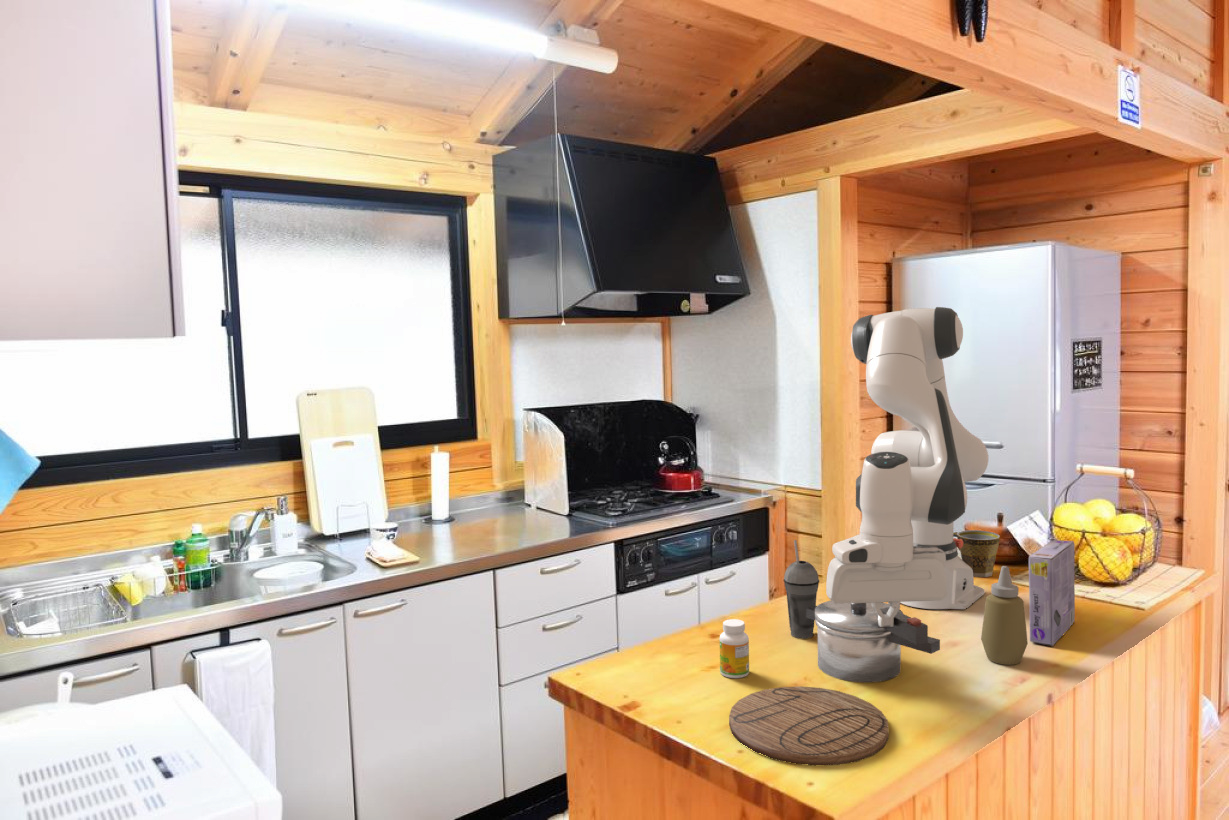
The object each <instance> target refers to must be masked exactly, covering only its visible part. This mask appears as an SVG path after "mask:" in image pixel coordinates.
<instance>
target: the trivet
mask: <svg viewBox="0 0 1229 820" xmlns="http://www.w3.org/2000/svg"><path fill="white" fill-rule="evenodd" d="M728 722H729V723H728V725H729V729H730V733H731V735H732V734H733V735H732V736H733V737H734V738H735V740H736V741H739V742H740V743H742V744H743V745H745V746H747V747H748V748H750V749H752V750H753V751H755V752H757V753H756V754H758V753H761V754H763V755H766V756H768V757H770V758H769V759H771V758H773V759H772V760H775V759H777V760H776V761H779V760H780V761H779V762H783V761H786V762H785V763H788V762H791V763H790V764H792V763H796V764H795V765H802V764H808V765H807V766H812V765H814V766H815V767H817V766H816V765H824V766H840V764H841V765H844V764H845V765H847V764H852V763H857V762H860V761H862V759H863V760H864V759H865V760H866V759H868V758H870V757H872V756H875V755H876V754H877V753H879V752H880V751H881V750H882V749H883V750H884V748H885V746H886V744H887V742H888V741H889V722H888V719H887V716H885V714H884V713H883V712H882V710H880V709H879V708H877V707H876V706H875V705H874V704H873V703H871V702H869V701H866V700H864V699H862V698H861V697H858V696H855V695H852V694H849V693H847V692H843V691H838V690H833V689H828V688H824V687H813V686H812V687H811V686H802V685H801V686H782V687H781V686H780V687H774V688H773V687H772V688H767V689H763V690H759V691H756V692H752V693H749V694H748V695H745V696H744V697H742V698H740V699H739V700H738V701H736V702H735V703H734V705H732V706H731V709H730V711H729V716H728ZM739 742H738V743H739ZM742 744H741V745H742ZM743 745H742V746H743ZM745 746H744V747H745ZM747 747H746V748H747ZM748 748H747V749H748ZM750 749H749V750H750ZM753 751H752V752H753ZM755 752H754V753H755ZM763 755H762V756H763ZM766 756H765V757H766ZM768 757H767V758H768ZM851 762H852V763H851ZM814 766H813V767H814Z"/></svg>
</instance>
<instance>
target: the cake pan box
mask: <svg viewBox="0 0 1229 820" xmlns="http://www.w3.org/2000/svg"><path fill="white" fill-rule="evenodd" d="M1028 589H1029V590H1028V591H1029V592H1028V596H1029V599H1028V602H1029V604H1028V605H1029V642H1032V643H1037V644H1041V645H1045V646H1049V647H1054V646H1055V644H1056V643H1057V641H1059V639H1061V638H1062V637H1061V636H1063V634H1064V633H1065V632H1066V631H1067V632H1068V630H1070V628H1071V627H1072V626H1073V625H1074V624H1073V622H1074V623H1075V617H1076V616H1075V610H1076V609H1075V606H1076V605H1075V602H1076V601H1075V599H1076V598H1075V596H1076V595H1075V592H1076V590H1075V542H1074V540H1058V539H1057V540H1055V539H1052V540H1051V541H1049V542H1048V543H1047V544H1045V545H1043V546H1042V547H1041V548H1038V550H1036V551H1035V552H1034V553H1031V554H1030V555H1029V556H1028ZM1071 625H1072V626H1071ZM1070 626H1071V627H1070ZM1067 632H1066V633H1067ZM1066 633H1065V634H1066ZM1065 634H1064V635H1065ZM1063 637H1064V636H1063Z"/></svg>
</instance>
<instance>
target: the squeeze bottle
mask: <svg viewBox="0 0 1229 820" xmlns="http://www.w3.org/2000/svg"><path fill="white" fill-rule="evenodd" d="M990 587H991V590H990V591H991V592H990V593H991V594H990V593H989V594H988V595H987V596H986V597H985V602H984V603H985V604H984V612H983V621H982V627H981V628H982V629H981V635H980V640H981V643H982V646H983V649H984V653H985V655H986V658H987V659H988V660H989V661H991V662H992V663H995V664H999V665H1006V666H1007V665H1009V666H1010V665H1018V664H1020V663H1021V662H1022V659H1023V656H1024V654H1025V651H1026V650H1027V646H1028V633H1027V624H1026V623H1027V622H1026V613H1025V612H1026V611H1025V601H1024V600H1023V598H1021V596H1019V586H1018V585H1017V584H1014V583H1013V581H1012V576H1011V573H1010V567H1009V566H1008V565H1002V566H1001V569H1000V573H999V577H998V580H997V582H994V583H992V584H991V586H990Z"/></svg>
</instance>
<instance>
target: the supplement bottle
mask: <svg viewBox="0 0 1229 820" xmlns="http://www.w3.org/2000/svg"><path fill="white" fill-rule="evenodd" d="M722 629H723V632H721V633H720V635H719V672H720V674H721V675H722V676H723V677H726V678H730V679H742V678H745V677H747V676H748V675H749V674H750V652H749V651H750V646H749V645H750V643H749V635H748V634H747V633H746V632H745V629H746V625H745V621H743V620H741V619H737V618H733V619H731V618H730V619H726V620H724V621H723V622H722Z"/></svg>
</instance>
